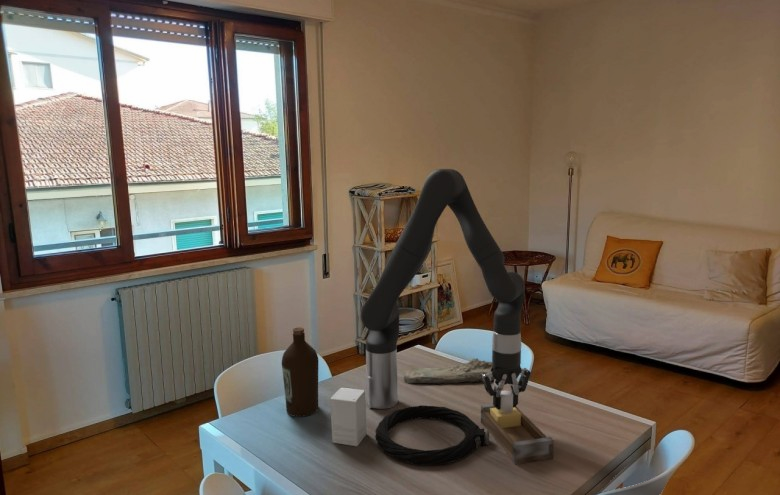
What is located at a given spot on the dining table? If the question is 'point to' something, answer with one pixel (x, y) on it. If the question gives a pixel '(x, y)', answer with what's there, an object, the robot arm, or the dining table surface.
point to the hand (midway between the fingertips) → (505, 406)
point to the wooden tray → (519, 438)
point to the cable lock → (430, 457)
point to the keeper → (506, 411)
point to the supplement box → (348, 416)
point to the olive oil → (300, 376)
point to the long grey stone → (450, 373)
